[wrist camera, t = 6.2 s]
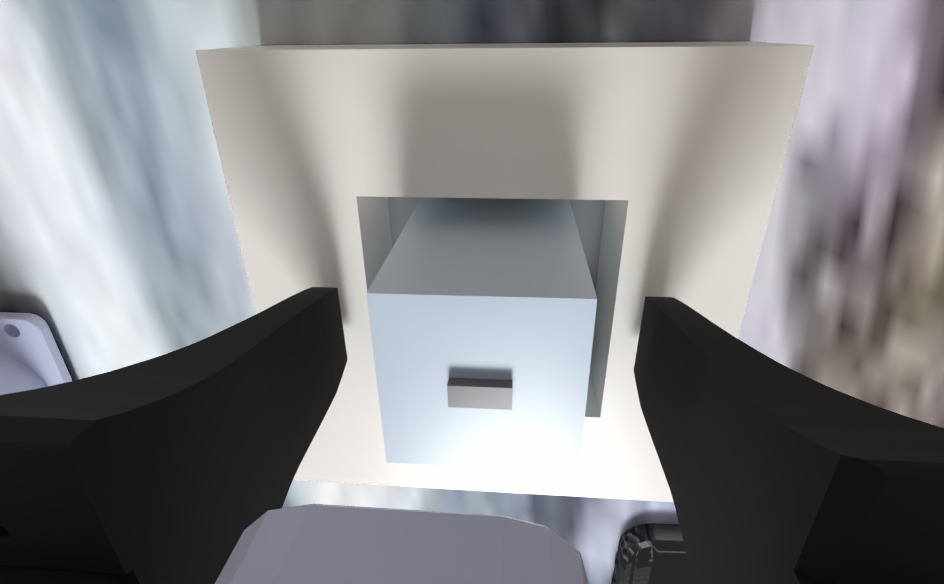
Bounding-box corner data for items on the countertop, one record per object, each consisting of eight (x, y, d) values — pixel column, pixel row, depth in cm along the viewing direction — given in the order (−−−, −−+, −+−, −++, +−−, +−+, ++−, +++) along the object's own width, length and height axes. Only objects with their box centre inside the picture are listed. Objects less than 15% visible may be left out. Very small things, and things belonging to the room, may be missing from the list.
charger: (430, 319, 16) (383, 471, 11) (423, 195, 15) (362, 299, 9) (559, 323, 16) (580, 481, 10) (568, 196, 14) (598, 306, 9)
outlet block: (325, 415, 19) (293, 479, 16) (260, 45, 13) (196, 50, 11) (669, 431, 18) (695, 503, 15) (750, 41, 12) (813, 45, 10)
